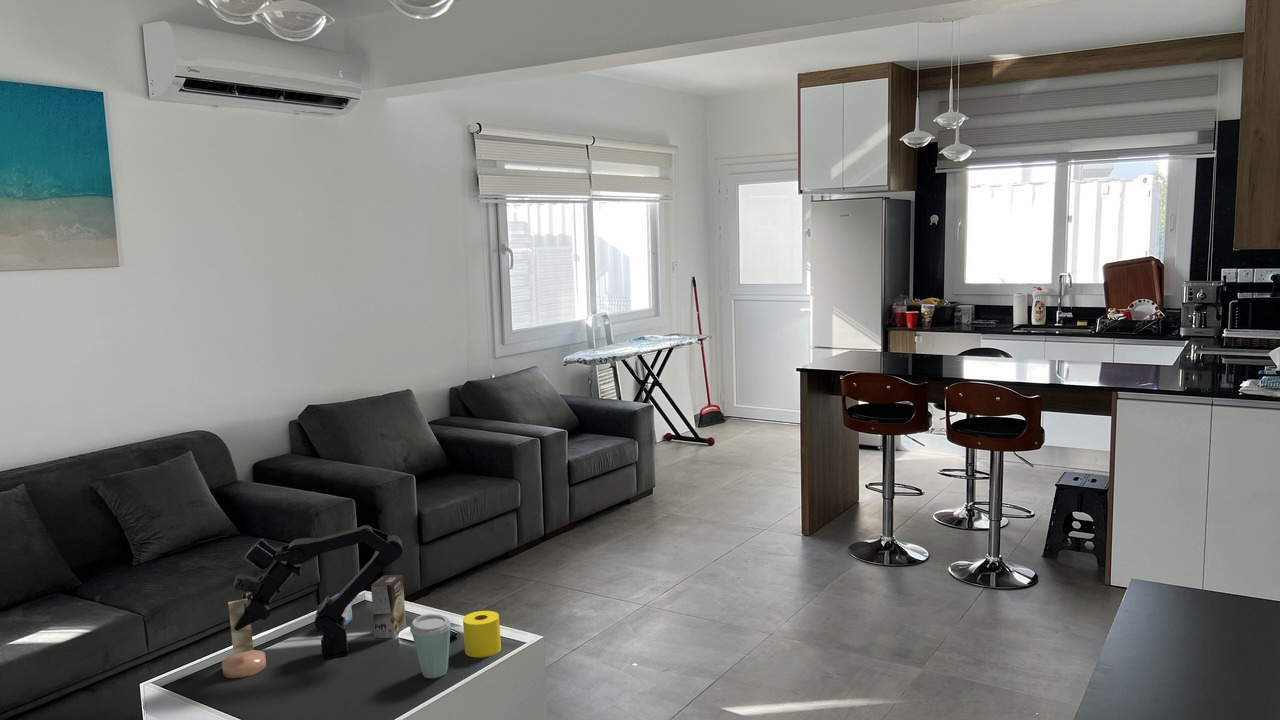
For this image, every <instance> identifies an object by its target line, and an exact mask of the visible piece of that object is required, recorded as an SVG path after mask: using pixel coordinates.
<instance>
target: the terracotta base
mask: <svg viewBox="0 0 1280 720" xmlns="http://www.w3.org/2000/svg"><path fill="white" fill-rule="evenodd" d="M266 667H267V658H266V653H265V652H264V651H262V650H255V649H253V650H251V651H246V652H242V653H237V654H234V653H233V654H230V655H228V656H226V657H225V658H224V659H222V661H221V668H222V675H223V676H224V677H225V678H229V679H239V678H240V679H241V678H245V677H246V678H248V677H250V676H253V675H255V674H258V673H261V672H262V671H263V670H264V669H265V668H266Z"/></svg>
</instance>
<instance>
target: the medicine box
mask: <svg viewBox="0 0 1280 720" xmlns="http://www.w3.org/2000/svg"><path fill="white" fill-rule="evenodd" d="M339 593H340V592H339ZM339 593H336V594H335V595H333V596H332V597H330V599H332V598H334V597H335V596H337V595H338V594H339ZM352 609H353V608H352V602H351V603H350V604H349V605H348V606H347V607H346V609H345V610H344V612H343V614H342V616H343V617H344V618H345V626H346V625H348V624H349V623H350V622H352V620H353V611H352Z"/></svg>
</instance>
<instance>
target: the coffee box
mask: <svg viewBox="0 0 1280 720" xmlns="http://www.w3.org/2000/svg"><path fill="white" fill-rule="evenodd" d="M370 589H371V591H370V592H371V602H372V603H371V606H372V619H373V632H374V633H373V634H374V638H375V639H394V638H396V637H397V636H398V635H399V634H400V633H401V632H400V631H401V630H402V631H403V630H405V628H406V627H407V623H406V622H407V620H406V607H405V593H404V592H405V591H404V590H405V589H404V579H403V575H402V574H400V575H399V574H391V575H390V574H389V575H387V574H385V575H382V576H381V577H379V578H378V579H377V580H375V581H374V582H373V583H372V584H371V585H370ZM399 632H400V633H399Z"/></svg>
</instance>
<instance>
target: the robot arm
mask: <svg viewBox="0 0 1280 720" xmlns="http://www.w3.org/2000/svg"><path fill="white" fill-rule="evenodd" d="M362 543H364V544H366V545H368V546H369V547H370V548H372V549H373V550H375V551H374V553H373V556H372V557H371V559H370V560H369V561H368V562H367V563H366V564H365V565H364V566H363V567H362V568H361V570H359V572H358V573H356V575H355V576H354V577H353V578H352V579H351V580H350V581H349V582H348V583H347V585H345V586H344V588H343V589H341V590H340V591H339V594H338V593H337V594H338V595H337V596H335V595H334V596H335V597H334V598H332V597H330V596H329V595H327V596H326V597H325V598H324V600H323V601H322V602H321V603H320V604H318V605H317V608H316V612H315V613H316V614H315V617H314V627H315V628H316V630H318V631H319V632H321V633H322V636H321V640H320V645H321V646H320V647H321V654H322V655H323V659H330V658H336V657H337V656H338V657H343V656H342V655H345V656H348V655H349V648H348V647H349V644H348V633H347V632H348V631H347V628H346V625H345V618H344V617H343V616H342V614H343V612H344V610H345V609H346V607H347V606H348V605H349V604H350V603H351V604H352V602H353V601H354V600H355V598H356V597H357V596H359V594H360V593H361V592H362V591H363V590H364V589H365V588H366V587H367V586H368V585H369V583H370V582H372V580H374V578H375V577H376V576H377V575H378V574H379V573H380V572H381V571H382V570H384V569H385V568H387V567H389V566H391V565H392V564H393V563H395V562H396V561H397V560H398V559H400V558H401V556H402V554H403V542H402V539H401V538H400V537H399V536H397V535H394V534H388V533H386V532H383V531H382V530H379V529H375V528H373V527H371V525H367V524H365V525H362V526H360V527H356V528H355V527H354V528H352V529H349V530H344V531H341V532H337V533H334V534H330V535H327V536H321V537H317V538H316V537H304V538H303V537H301V538H295V539H294V540H292V541H291V542H290V543H289V544H285V545H281V546H277V547H276V548H275V547H274V546H273V545H271V544H270V543H269V542H267V540H266V539H264V538H263V537H262V538H260V539H259V541H257V542H256V543H255V544H253V545H252V546H251V547H250V549H249V550H248V551H247V552H246V554H245V555H244V556H243V558H244V560H246V561H247V562H249V563H250V564H251V565H253V566H254V567H256V568H257V569H259V570H260V571H261V570H267V569H268V568H269V569H268V570H267V571H266V573H264V574H261V575H259V577H258V578H257V577H253V576H250V575H247V574H243V573H237V574H236V576H235V579H234V582H233V584H232V585H233V590H236V591H243V592H244V593H242V595H241V596H242V599H248V602H247V604H245V603H244V610H245V611H244V613H243V614H242V616H241V618H240V619H239V621H238V623H237V624H236V626H235V628H234V629H235V630H237V631H238V630H240V629H242V628H244V627H245V626H247V625H249V624H251V625H252V624H253V623H255V622H258V621H259V620H262V621H267V619H268V618H269V617H270V616H271V611H270V607H269V606H270V605H271V603H272V601H271V600H272V599H273V598H274V597H275V596H276V595H277V594H278V595H280V593H281V591H282V587H283V586H284V585H285V583H286V582H287V581H288V580H289V579H290V577H292V575H293V574H295V575H296V576H297V577H301V575H302V572H301V567H302V564H304V563H307V562H308V561H312V560H314V559H315V558H316V557H318V556H319V555H322V554H324V553H329V552H333V551H336V550H340V549H343V548H347V547H351V546H354V545H358V544H362ZM331 598H332V599H331ZM338 657H337V658H338Z"/></svg>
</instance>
